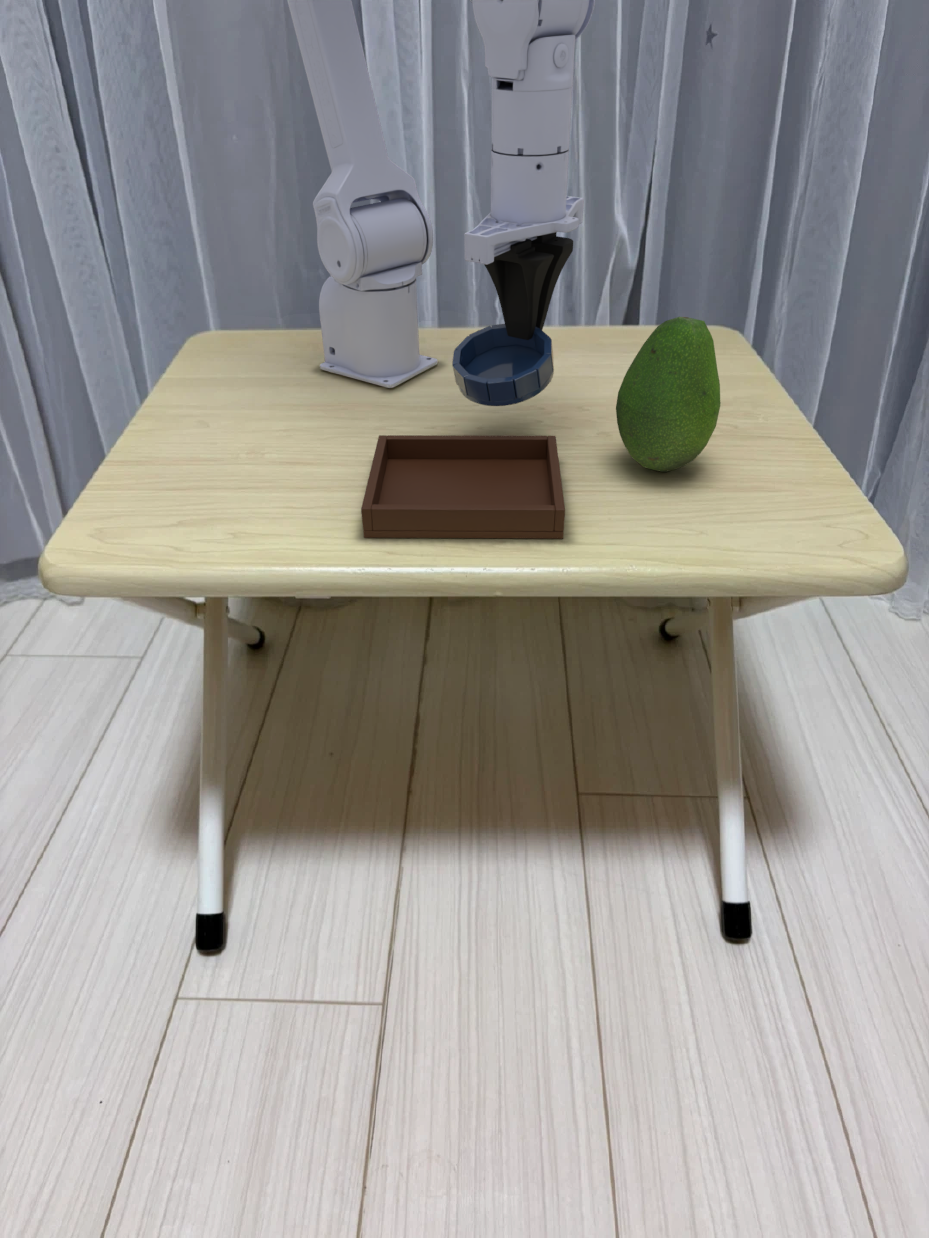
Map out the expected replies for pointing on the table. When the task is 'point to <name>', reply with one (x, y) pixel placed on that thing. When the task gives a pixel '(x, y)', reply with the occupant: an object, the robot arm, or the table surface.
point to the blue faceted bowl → (502, 366)
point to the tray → (464, 488)
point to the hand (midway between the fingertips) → (524, 334)
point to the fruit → (670, 396)
